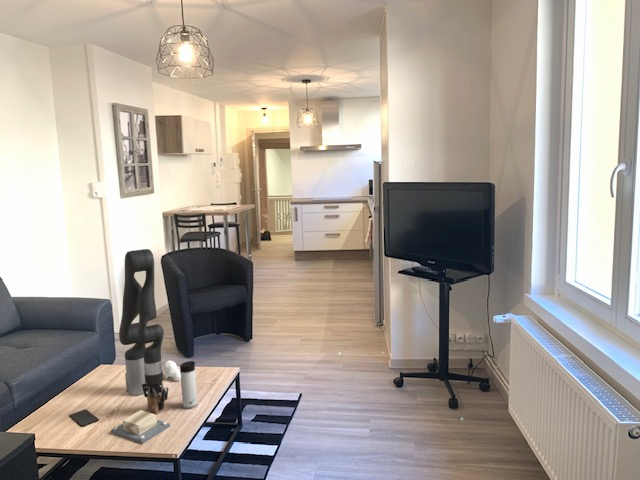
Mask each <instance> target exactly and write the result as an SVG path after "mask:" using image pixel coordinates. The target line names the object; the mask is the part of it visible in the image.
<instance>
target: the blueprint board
mask: <svg viewBox="0 0 640 480" xmlns="http://www.w3.org/2000/svg"><path fill="white" fill-rule="evenodd" d="M170 427H171V423H168V422H167V421H162V420H160V419H159V420H158V419H157V425H155V426H153V427H152V428H150V429H148V430H147V431H145V432H143V433H142V434H140V435H138V434H135V433H132V432H129V431H126V430H124V429H123V422H122V423H120V424H119V425H117V426H114V427H113V428H112V429H110V433H111V434H113V435H116V436H119V437H122V438H125V439H127V440H131V441H133V442H136V443H140V444H142V445H143V444H144V443H146V442H147V441H149V440H151V439H153V438H154V437H156V436H158V435H159V434H160V433H162V432H164V431H166V429H168V428H170Z"/></svg>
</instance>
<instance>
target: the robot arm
mask: <svg viewBox="0 0 640 480" xmlns="http://www.w3.org/2000/svg"><path fill="white" fill-rule="evenodd" d="M140 272H145V281H144V283H143V286H142V285H141V284H140V283H139V281H138V280H137V279H136V277H135V275H136V273H140ZM156 306H157V305H156V299H155V259H154V253H153V252H152V250H151V249H148V248H145V249H144V248H143V249H136V250H129V251H127V252H126V254H125V256H124V286H123V293H122V310H121V311H122V312H121V320H120V325H119V330H118V331H119V332H118V339H119V343H120V344H122V345H123V346H127V345H128V346H129V345H133V344H134V345H133V346H132V347H129V349H127V350H126V351H125V352H124V362H125V373H124V378H125V386H126V387H125V388H126V393H128V395H129V396H140V395H144V398H147V397H148V396H151V395H152V394H155V397H156V398H158V407H159V410H162V409H163V408H164V401H167V400H168V395H169V387H165V386H164V385H163V381H164V371H163V366H164V365H163V362H162V343H163V340H164V333H165V331H164V328H163V326H162V325H161V324H158V323H156V324H151V325H148V323H149V322H151V321H153V320H155V319H156V318H157V315H158V314H157V307H156ZM137 317H139V318H138V322H135V323H134V320H135V319H136V318H137ZM151 343H152V344H151ZM146 344H151V345H149V346H147V347H146ZM159 393H160V394H159ZM158 394H159V395H158ZM160 396H161V399H160Z"/></svg>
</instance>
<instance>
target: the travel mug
mask: <svg viewBox="0 0 640 480" xmlns="http://www.w3.org/2000/svg"><path fill="white" fill-rule="evenodd" d="M195 365H196V362H195V361H193V360H189V361H186V362H182V363H181V364H180V365H179V372H180V374H181V379H180V387H181V399H182V401H181V402H182V407H183V409H186V410H191V409H194V408H196V407H197V406H198V395H197V394H198V393H197V378H196V368H195V367H196V366H195Z"/></svg>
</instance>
